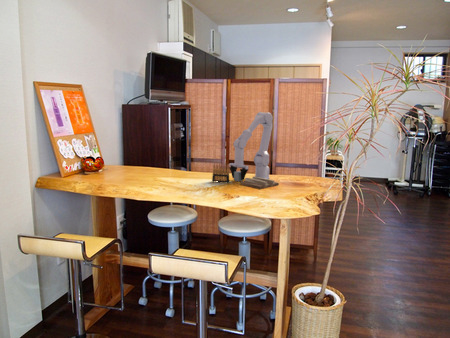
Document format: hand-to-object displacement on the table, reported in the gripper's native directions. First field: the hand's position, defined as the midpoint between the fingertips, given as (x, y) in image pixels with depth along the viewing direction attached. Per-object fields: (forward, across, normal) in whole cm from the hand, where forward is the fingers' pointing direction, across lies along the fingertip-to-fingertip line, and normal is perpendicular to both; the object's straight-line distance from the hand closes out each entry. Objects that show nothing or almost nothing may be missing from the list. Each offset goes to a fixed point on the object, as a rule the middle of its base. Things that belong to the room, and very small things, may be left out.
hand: (238, 178), depth 241 cm
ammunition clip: (+2, -4, -12) cm, 13 cm away
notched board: (+1, +16, +2) cm, 16 cm away
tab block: (+2, 0, 0) cm, 2 cm away
